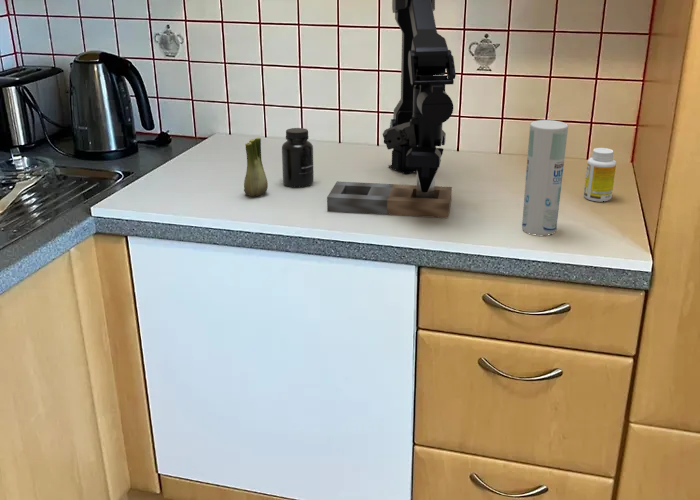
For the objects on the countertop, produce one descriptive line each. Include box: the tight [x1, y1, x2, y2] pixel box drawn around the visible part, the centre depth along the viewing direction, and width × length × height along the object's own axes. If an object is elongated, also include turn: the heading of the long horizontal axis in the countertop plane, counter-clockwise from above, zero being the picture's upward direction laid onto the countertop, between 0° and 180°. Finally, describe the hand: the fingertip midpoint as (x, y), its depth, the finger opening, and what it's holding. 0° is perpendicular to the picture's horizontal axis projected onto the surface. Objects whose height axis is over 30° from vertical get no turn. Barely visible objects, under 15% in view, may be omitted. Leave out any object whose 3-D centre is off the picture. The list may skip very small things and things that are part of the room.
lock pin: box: [416, 171, 436, 199], centre depth 150 cm, size 4×4×10 cm
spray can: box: [521, 119, 569, 236], centre depth 137 cm, size 6×6×20 cm
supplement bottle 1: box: [281, 127, 315, 189], centre depth 165 cm, size 7×7×12 cm
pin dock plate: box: [326, 180, 453, 219], centre depth 153 cm, size 24×10×3 cm, turn 80°
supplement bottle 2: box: [583, 147, 617, 203], centre depth 154 cm, size 6×6×10 cm
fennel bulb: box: [243, 137, 268, 197], centre depth 158 cm, size 6×5×12 cm
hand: (425, 188), depth 150 cm, fingers closed on lock pin, 4 cm apart
